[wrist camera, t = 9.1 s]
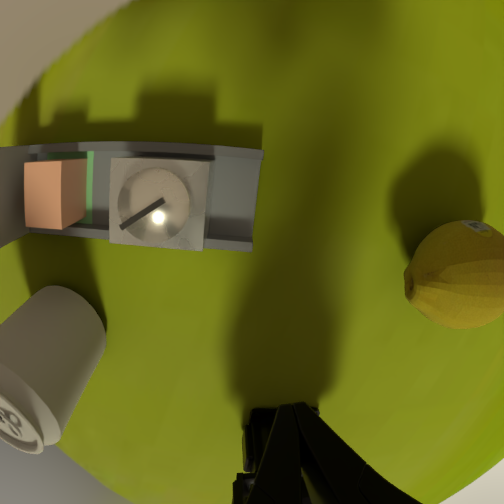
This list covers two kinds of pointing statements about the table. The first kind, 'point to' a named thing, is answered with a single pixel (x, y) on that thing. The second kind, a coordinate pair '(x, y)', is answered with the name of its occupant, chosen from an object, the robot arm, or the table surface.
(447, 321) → the lemon
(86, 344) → the can
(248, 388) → the table surface
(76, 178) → the block
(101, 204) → the gauge bench
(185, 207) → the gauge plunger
